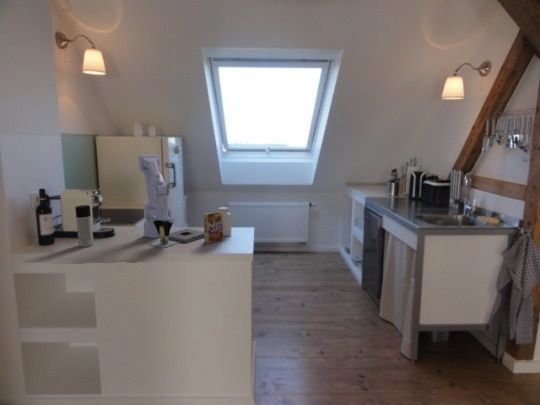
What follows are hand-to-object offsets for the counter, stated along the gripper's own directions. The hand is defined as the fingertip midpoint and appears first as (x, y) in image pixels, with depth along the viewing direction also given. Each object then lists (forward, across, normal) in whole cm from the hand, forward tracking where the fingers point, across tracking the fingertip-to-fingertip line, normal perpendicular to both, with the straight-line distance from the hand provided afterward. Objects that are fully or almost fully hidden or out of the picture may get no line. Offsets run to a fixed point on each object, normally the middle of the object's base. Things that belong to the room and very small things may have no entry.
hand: (163, 235), depth 190 cm
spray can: (+5, -32, -22) cm, 39 cm away
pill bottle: (+5, +14, +30) cm, 33 cm away
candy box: (+5, +18, +17) cm, 25 cm away
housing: (+5, 0, +15) cm, 16 cm away
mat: (+5, 0, 0) cm, 5 cm away
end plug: (+3, 0, 0) cm, 3 cm away
